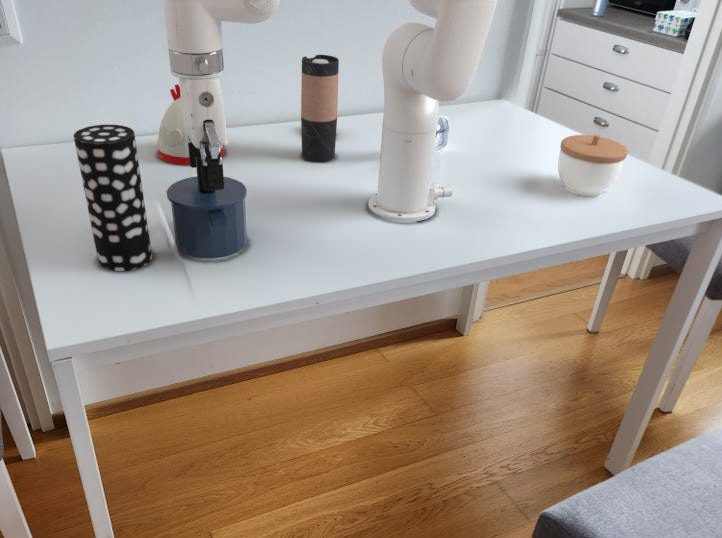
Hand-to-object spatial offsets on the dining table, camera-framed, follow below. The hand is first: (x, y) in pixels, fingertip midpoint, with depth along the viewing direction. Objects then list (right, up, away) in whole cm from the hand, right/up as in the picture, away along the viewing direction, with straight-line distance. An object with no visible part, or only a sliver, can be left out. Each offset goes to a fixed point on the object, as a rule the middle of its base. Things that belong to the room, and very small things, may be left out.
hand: (206, 177), depth 106 cm
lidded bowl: (+71, +6, +32) cm, 78 cm away
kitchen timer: (-11, +16, +40) cm, 45 cm away
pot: (0, -9, +7) cm, 12 cm away
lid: (0, -2, +2) cm, 3 cm away
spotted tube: (-13, -13, +2) cm, 19 cm away
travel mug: (+16, +16, +42) cm, 47 cm away
